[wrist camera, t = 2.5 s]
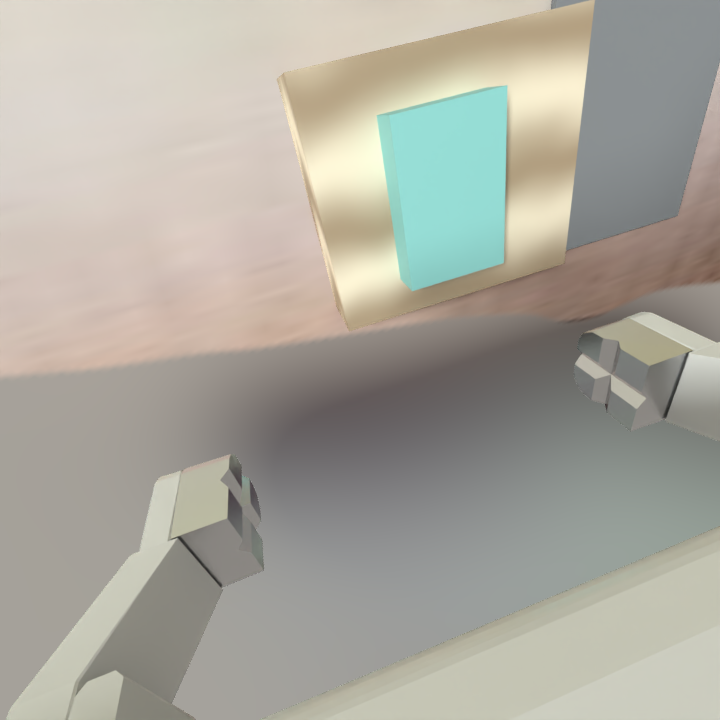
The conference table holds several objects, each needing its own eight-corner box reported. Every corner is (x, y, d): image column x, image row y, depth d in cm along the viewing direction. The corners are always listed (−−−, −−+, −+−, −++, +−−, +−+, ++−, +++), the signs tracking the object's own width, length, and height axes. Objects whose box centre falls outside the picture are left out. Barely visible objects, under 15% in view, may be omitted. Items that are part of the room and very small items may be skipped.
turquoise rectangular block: (376, 115, 19) (389, 115, 18) (485, 87, 20) (507, 85, 18) (400, 279, 24) (412, 291, 23) (486, 253, 25) (503, 262, 23)
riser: (277, 78, 21) (284, 72, 17) (543, 15, 22) (595, -1, 19) (336, 306, 29) (349, 331, 25) (529, 247, 30) (564, 263, 27)
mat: (552, -10, 22) (557, -11, 22) (744, -54, 23) (752, -56, 23) (534, 257, 31) (537, 259, 31) (673, 214, 32) (677, 215, 32)
